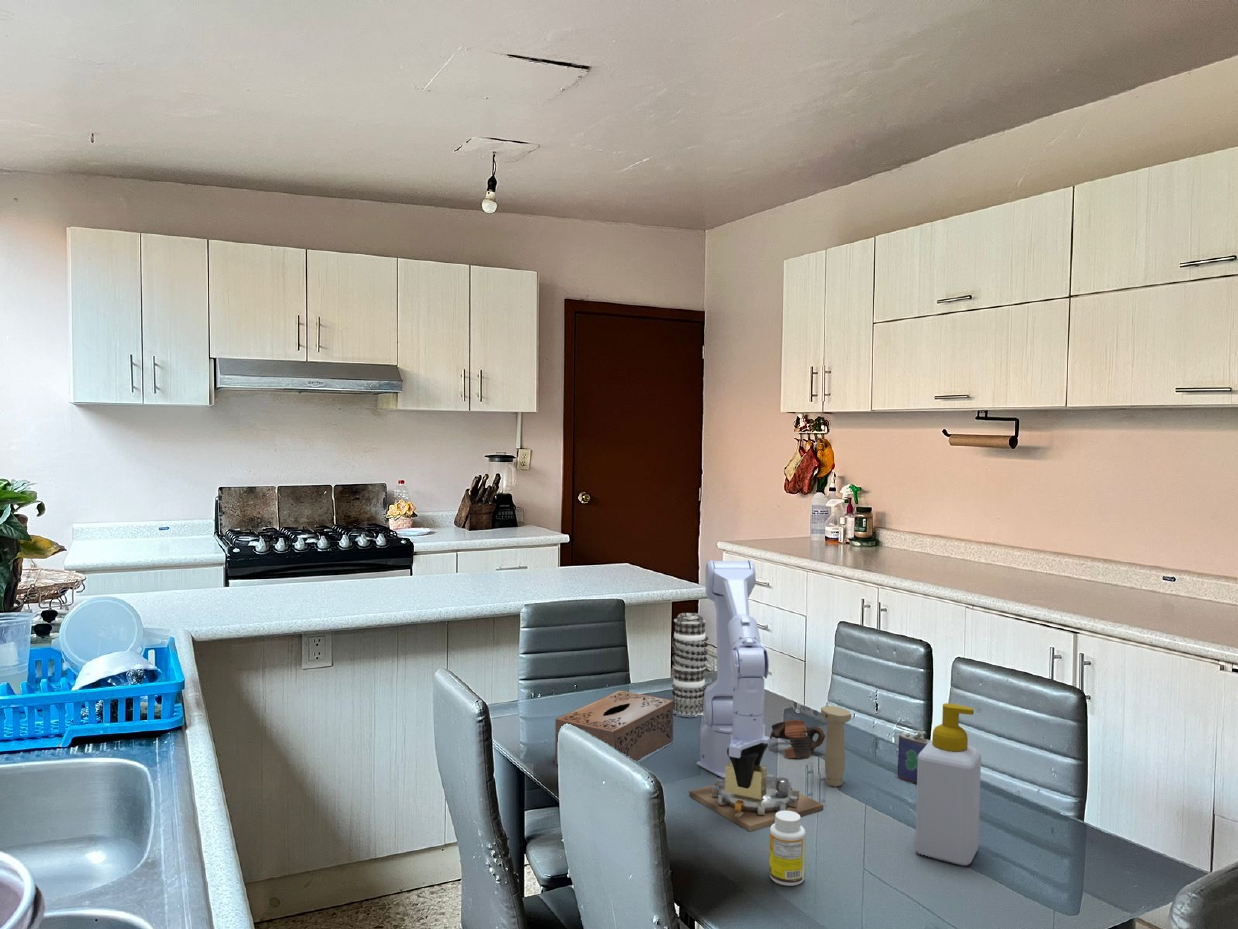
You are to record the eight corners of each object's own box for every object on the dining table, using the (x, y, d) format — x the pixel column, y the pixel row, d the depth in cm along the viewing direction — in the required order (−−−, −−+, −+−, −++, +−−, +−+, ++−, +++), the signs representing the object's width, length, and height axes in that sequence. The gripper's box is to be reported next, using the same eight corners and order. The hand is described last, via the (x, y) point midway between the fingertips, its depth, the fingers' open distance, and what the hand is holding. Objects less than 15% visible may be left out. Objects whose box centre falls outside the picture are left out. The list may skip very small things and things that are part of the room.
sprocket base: (689, 796, 174) (689, 790, 174) (759, 778, 184) (759, 772, 184) (749, 831, 159) (750, 825, 159) (823, 810, 169) (823, 803, 169)
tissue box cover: (612, 780, 183) (613, 731, 182) (555, 765, 190) (555, 719, 190) (672, 744, 204) (673, 700, 204) (619, 732, 212) (619, 690, 212)
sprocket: (708, 809, 165) (708, 785, 165) (716, 776, 181) (716, 754, 181) (799, 818, 162) (799, 794, 162) (799, 783, 178) (799, 761, 178)
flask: (944, 786, 181) (945, 734, 181) (939, 790, 179) (940, 737, 179) (900, 774, 187) (901, 724, 187) (894, 779, 185) (895, 727, 185)
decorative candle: (708, 719, 222) (710, 618, 221) (671, 718, 222) (672, 618, 221) (705, 707, 231) (707, 611, 230) (669, 707, 231) (671, 610, 230)
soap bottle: (969, 869, 146) (973, 717, 146) (913, 855, 151) (917, 707, 150) (979, 848, 154) (983, 703, 153) (926, 835, 159) (929, 694, 158)
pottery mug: (772, 761, 195) (765, 723, 199) (778, 767, 203) (770, 730, 207) (828, 752, 193) (819, 713, 197) (831, 757, 201) (822, 720, 205)
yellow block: (725, 792, 168) (725, 764, 167) (730, 786, 170) (731, 759, 170) (760, 799, 164) (761, 771, 164) (766, 793, 167) (766, 766, 167)
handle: (834, 792, 178) (836, 717, 177) (814, 780, 183) (816, 707, 183) (854, 788, 180) (856, 714, 179) (833, 776, 185) (835, 705, 185)
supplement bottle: (780, 866, 146) (781, 805, 146) (810, 878, 143) (812, 814, 143) (762, 879, 142) (763, 816, 142) (793, 891, 139) (794, 826, 138)
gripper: (755, 726, 158) (754, 802, 159) (781, 704, 171) (779, 775, 172) (718, 719, 162) (717, 794, 162) (746, 699, 174) (744, 768, 175)
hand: (746, 783), depth 167 cm, fingers closed on yellow block, 3 cm apart
